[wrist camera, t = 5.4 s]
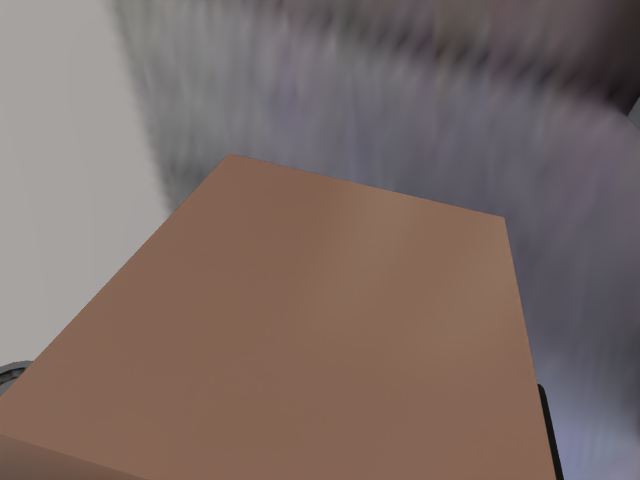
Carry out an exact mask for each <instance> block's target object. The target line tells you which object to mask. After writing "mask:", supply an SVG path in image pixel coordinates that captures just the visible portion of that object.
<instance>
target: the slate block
mask: <svg viewBox="0 0 640 480" xmlns="http://www.w3.org/2000/svg"><path fill="white" fill-rule="evenodd" d="M627 117H628V118H629V119H630V120H631V121H632V122H633V123H634V124H635V126H636V127H637V128H638V129H639V130H640V97H639V98H638V100H637V102H636V103H635V105H634V106H633V108H632V110H631V111H630V113H629V115H628V116H627Z"/></svg>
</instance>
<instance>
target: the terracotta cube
mask: <svg viewBox="0 0 640 480" xmlns="http://www.w3.org/2000/svg"><path fill="white" fill-rule="evenodd" d="M0 480H556V476H555V471H554V466H553V461H552V456H551V451H550V446H549V441H548V436H547V431H546V426H545V421H544V416H543V411H542V406H541V401H540V396H539V390H538V385H537V380H536V375H535V370H534V365H533V360H532V355H531V350H530V345H529V340H528V335H527V330H526V325H525V320H524V315H523V310H522V305H521V300H520V295H519V290H518V285H517V280H516V275H515V270H514V265H513V260H512V255H511V249H510V244H509V239H508V234H507V229H506V224H505V219H504V217H500V216H496V215H491V214H487V213H483V212H479V211H474V210H470V209H466V208H461V207H457V206H453V205H449V204H444V203H440V202H436V201H431V200H427V199H423V198H419V197H414V196H410V195H406V194H401V193H397V192H393V191H389V190H384V189H380V188H376V187H371V186H367V185H363V184H359V183H354V182H350V181H346V180H341V179H337V178H333V177H329V176H324V175H320V174H316V173H311V172H307V171H303V170H299V169H294V168H290V167H286V166H281V165H277V164H273V163H269V162H264V161H260V160H256V159H251V158H247V157H243V156H238V155H234V154H230V153H229V154H228V155H227V156H226V157H225V158H224V159H223V160H222V161H221V163H220V164H219V165H218V166H217V167H216V168H215V169H214V170H213V171H212V172H211V173H210V174H209V175H208V176H207V177H206V179H205V180H204V181H203V182H202V183H201V184H200V185H199V186H198V187H197V188H196V189H195V190H194V191H193V192H192V193H191V194H190V196H189V197H188V198H187V199H186V200H185V201H184V202H183V203H182V204H181V205H180V206H179V207H178V208H177V209H176V210H175V211H174V213H173V214H172V215H171V216H170V217H169V218H168V219H167V220H166V221H165V222H164V223H163V224H162V225H161V226H160V227H159V229H158V230H157V231H156V232H155V233H154V234H153V235H152V236H151V237H150V238H149V239H148V240H147V241H146V242H145V243H144V244H143V246H142V247H141V248H140V249H139V250H138V251H137V252H136V253H135V254H134V255H133V256H132V257H131V258H130V260H128V261H127V263H126V264H125V265H124V266H123V267H122V268H121V269H120V270H119V271H118V272H117V273H116V274H115V275H114V276H113V277H112V278H111V280H110V281H109V282H108V283H107V284H106V285H105V286H104V287H103V288H102V289H101V290H100V291H99V293H97V294H96V296H95V297H94V298H93V299H92V300H91V301H90V302H89V303H88V304H87V305H86V306H85V307H84V308H83V309H82V310H81V311H80V313H79V314H78V315H77V316H76V317H75V318H74V319H73V320H72V321H71V322H70V323H69V324H68V325H67V326H66V327H65V328H64V330H63V331H62V332H61V333H60V334H59V335H58V336H57V337H56V338H55V339H54V340H53V342H51V344H49V346H48V347H47V348H46V349H45V350H44V351H43V352H42V353H41V354H40V355H39V356H38V357H37V358H36V359H35V360H34V361H33V363H32V364H31V365H30V366H29V367H28V368H27V369H26V370H25V371H24V372H23V373H22V374H21V375H20V376H19V377H18V378H17V380H16V381H15V382H14V383H13V384H12V385H11V386H10V387H9V388H8V389H7V390H6V391H5V392H4V393H3V394H2V395H1V397H0Z"/></svg>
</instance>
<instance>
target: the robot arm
mask: <svg viewBox="0 0 640 480" xmlns="http://www.w3.org/2000/svg"><path fill="white" fill-rule="evenodd" d="M32 363H33V361H21V362H13V363H10V364H8V365H5V366H2V367H0V397H1V395H2V394H3V393H4V392H5V391H6V390H7V389H8V388H9V387H10V386H11V385H12V384H13V383H14V382H15V381H16V380H17V378H18V377H19V376H20V375H21V374H22V373H23V372H24V371H25V370H26V369H27V368H28V367H29V366H30V365H31V364H32ZM537 385H538V390H539V396H540V401H541V406H542V411H543V416H544V421H545V426H546V431H547V436H548V441H549V446H550V451H551V456H552V461H553V466H554V471H555V476H556V480H564V478H563V473H562V468H561V463H560V459H559V454H558V449H557V445H556V440H555V435H554V430H553V426H552V421H551V416H550V412H549V407H548V402H547V397H546V394H545V391H544V388H543V387H542V386H541V385H540V384H537Z"/></svg>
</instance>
